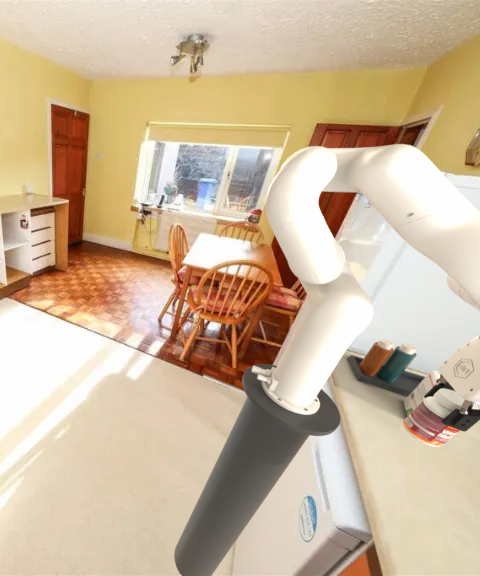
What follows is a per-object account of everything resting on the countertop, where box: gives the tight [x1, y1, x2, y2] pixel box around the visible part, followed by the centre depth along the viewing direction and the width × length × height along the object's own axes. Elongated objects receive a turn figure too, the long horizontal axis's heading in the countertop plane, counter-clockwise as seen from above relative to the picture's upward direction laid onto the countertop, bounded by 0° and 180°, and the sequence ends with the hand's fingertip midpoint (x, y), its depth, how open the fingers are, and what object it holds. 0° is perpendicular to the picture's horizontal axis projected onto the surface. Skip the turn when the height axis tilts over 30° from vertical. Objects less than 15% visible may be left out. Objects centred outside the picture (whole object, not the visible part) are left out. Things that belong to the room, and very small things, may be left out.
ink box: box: [403, 369, 441, 417], centre depth 64 cm, size 8×5×12 cm, turn 139°
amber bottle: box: [359, 338, 395, 376], centre depth 77 cm, size 4×4×11 cm
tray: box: [347, 354, 426, 397], centre depth 77 cm, size 19×11×2 cm, turn 62°
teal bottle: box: [377, 342, 418, 383], centre depth 76 cm, size 4×4×12 cm
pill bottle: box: [401, 388, 479, 448], centre depth 55 cm, size 6×6×11 cm
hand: (443, 412), depth 55 cm, fingers closed on pill bottle, 6 cm apart
